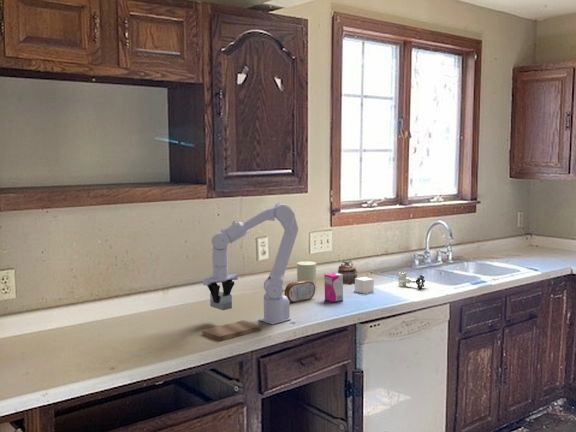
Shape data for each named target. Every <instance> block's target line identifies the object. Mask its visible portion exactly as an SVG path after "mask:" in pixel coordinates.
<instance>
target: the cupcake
mask: <svg viewBox="0 0 576 432" xmlns="http://www.w3.org/2000/svg"><path fill="white" fill-rule="evenodd" d="M337 269H338V270H337V273H338V274H342V275H343V284H355V278H358V273H359V271H358V270H357V268H356V266H354V262H353V261H351V260H350V261H344V260H343V261H342V262H341V263H340V265H339V266H338V268H337Z"/></svg>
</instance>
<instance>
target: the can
mask: <svg viewBox="0 0 576 432" xmlns="http://www.w3.org/2000/svg"><path fill="white" fill-rule="evenodd" d="M303 280H309V281H311V282H313V283H314V285H315V289H316V288H317V262H315V261H310V260H309V261H307V260H306V261H298V262H296V281H303Z"/></svg>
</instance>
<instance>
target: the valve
mask: <svg viewBox="0 0 576 432" xmlns="http://www.w3.org/2000/svg"><path fill="white" fill-rule="evenodd" d="M397 282H398V286H399V287H401V288H406V287H407V284H410V283H411V284H415V283H416V286H417V287H416V288H417V289H419V290H423V288H424V287H425V284H424V283H425V282H426V280H425V276H424V275H422V274H419V277H417V279H415V278H411V277H410V276H407V272H406V271H399V273H398V278H397Z"/></svg>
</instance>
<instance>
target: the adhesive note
mask: <svg viewBox="0 0 576 432" xmlns="http://www.w3.org/2000/svg"><path fill="white" fill-rule="evenodd" d="M374 284H375V283H374V279H373V278H370V277H367V276H362V277H361V276H360V277H357V278H355V283H354V292H357V293H359V294H369V293H374V287H375V286H374Z"/></svg>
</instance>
